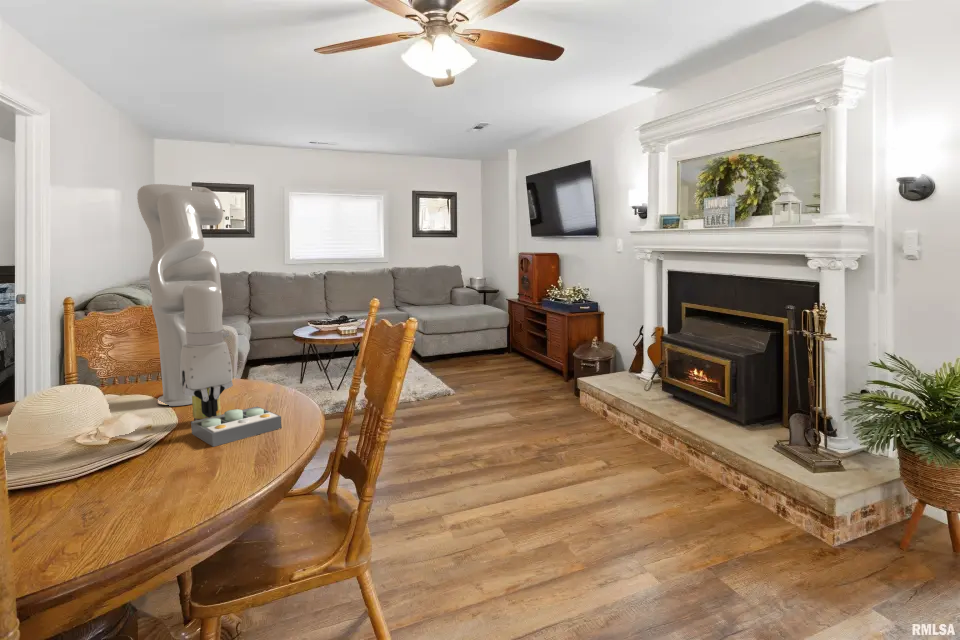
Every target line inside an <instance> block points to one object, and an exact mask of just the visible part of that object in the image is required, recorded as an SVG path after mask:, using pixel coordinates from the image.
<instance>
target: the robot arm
mask: <svg viewBox="0 0 960 640" xmlns="http://www.w3.org/2000/svg"><path fill="white" fill-rule="evenodd" d="M136 196H137V197H136V198H137V203H138V204H137V205H138V210H139V212H140V215H141V216H142V219H143V221H144V223H145V225H146V227H147V229H148V232H149V235H150V239H151V248H152V257H153V259H152V261H151V264H150V266H149V272H148V274H149V276H148V280H149V285H150V293H151V297H152V300H151V310H152V313H153V318H154V320H155V321H154V322H155V326H156V330H157V331H156V333H157V339H158V351H159V359H160V360H159V361H160V370H161V371H160V372H161V383H162V395H161V396H159V397H158V398H157V400H159V401H161V402H163V403H165V404H167V405H169V406H168V407H180V406H188V405H189V406H190V405H192V396H196V397H198V398H199V399H201V407H202V413H203V414H204V415H205V416H207V417H208V418H210V417H212V416H213V417H214V416H216V411H218V403H217V399H218V398H219V395H220V396H221V394H222V393H223V392H224V391H225V390H227V389H229V388H230V389H231V388H232V387H233V386H234V383H233V377H234V376H233V365H232V359H231V355H230V350H229V347H228V344H227V342H226V341H225V338H226V337H230V331H229V330H224V327H223V325H224V324H223V311H224V310H223V309H224V303H223V294H222V293H223V291H222V283H221V275H220V274H221V272H220V266H219V262H218V259H217V257H216V255H215V254H214V253H213V252H211V251H208V250H204V247H205V241H204V236H203V233H202V229H201V226H219V225H220V224H221V222H222V220H223V213H224V211H223V206H222V202H221V199H220V198H219V196H218V195H217V194H216V193H215V192H213V191H212V190H211V189H209V188H207V187H204V186H192V185H178V184H162V183H153V184H146V185H143V186H141V187H139V189H138V190H137V193H136ZM206 388H210V391H209V397H208V393H207V389H206ZM157 400H156V401H157Z"/></svg>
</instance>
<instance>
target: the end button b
mask: <svg viewBox="0 0 960 640" xmlns="http://www.w3.org/2000/svg"><path fill="white" fill-rule="evenodd" d="M261 408H262V407H260V408H255V409H250V410H247V411H246V415H247V416H249V417H252V416H256V415H260V414H264V409H265V408H263V409H261Z"/></svg>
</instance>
